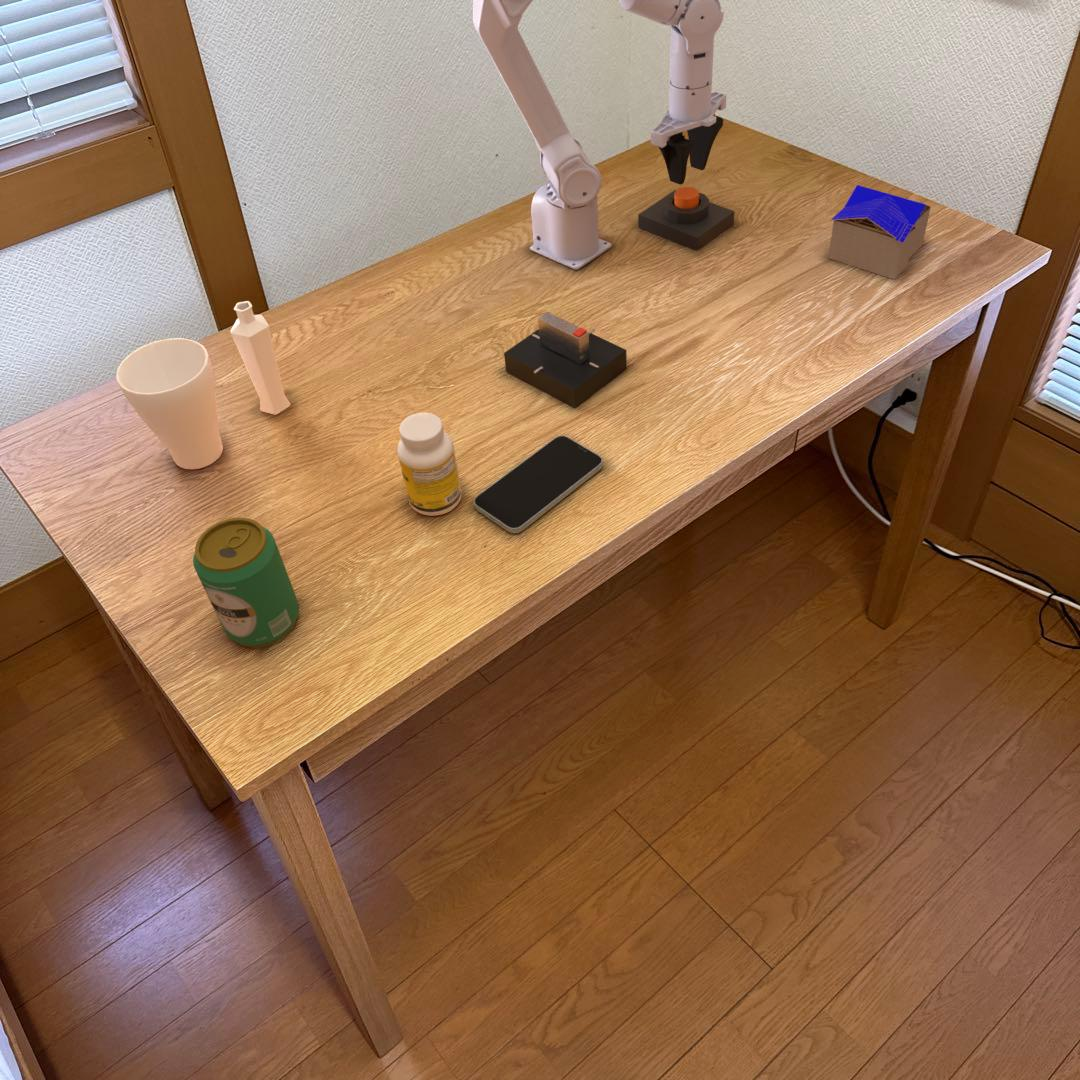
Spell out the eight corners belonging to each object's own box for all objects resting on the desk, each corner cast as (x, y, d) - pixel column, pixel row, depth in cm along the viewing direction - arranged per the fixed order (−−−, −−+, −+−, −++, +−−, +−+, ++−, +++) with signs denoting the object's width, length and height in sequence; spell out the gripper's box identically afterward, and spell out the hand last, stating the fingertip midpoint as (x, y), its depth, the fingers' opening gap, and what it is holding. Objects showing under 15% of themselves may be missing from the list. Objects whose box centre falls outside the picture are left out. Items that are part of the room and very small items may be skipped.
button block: (638, 227, 157) (638, 203, 154) (675, 202, 161) (675, 178, 159) (697, 251, 152) (698, 226, 149) (733, 224, 156) (735, 199, 153)
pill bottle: (412, 481, 123) (395, 408, 115) (464, 479, 122) (451, 406, 114) (405, 519, 118) (388, 446, 110) (460, 517, 118) (446, 444, 110)
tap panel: (502, 374, 135) (500, 354, 133) (560, 332, 140) (559, 313, 138) (572, 410, 129) (570, 390, 127) (629, 366, 134) (629, 346, 132)
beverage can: (210, 640, 108) (172, 563, 99) (251, 584, 113) (218, 506, 104) (276, 659, 106) (243, 582, 97) (315, 601, 111) (286, 522, 102)
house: (895, 281, 143) (906, 229, 137) (825, 258, 148) (832, 207, 142) (929, 246, 148) (940, 194, 143) (860, 225, 153) (868, 174, 148)
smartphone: (469, 501, 118) (560, 432, 125) (470, 506, 119) (561, 438, 126) (514, 532, 114) (606, 459, 121) (515, 537, 115) (607, 465, 122)
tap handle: (540, 344, 134) (537, 316, 131) (549, 337, 135) (547, 309, 132) (580, 365, 130) (579, 337, 127) (590, 358, 131) (588, 330, 128)
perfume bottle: (300, 397, 135) (270, 298, 124) (281, 418, 132) (248, 319, 121) (271, 390, 136) (239, 291, 125) (251, 410, 134) (217, 311, 123)
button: (669, 205, 154) (669, 194, 153) (684, 195, 156) (684, 184, 154) (688, 212, 152) (689, 201, 151) (703, 202, 154) (704, 191, 153)
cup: (167, 494, 124) (126, 406, 114) (147, 444, 131) (107, 356, 121) (251, 462, 127) (219, 373, 117) (228, 415, 133) (195, 327, 124)
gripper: (681, 108, 135) (678, 204, 145) (746, 67, 142) (740, 162, 152) (638, 94, 139) (639, 189, 149) (704, 56, 146) (700, 149, 156)
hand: (687, 174), depth 151 cm, fingers open, 4 cm apart
